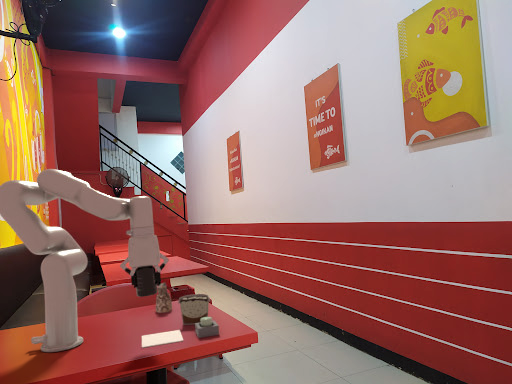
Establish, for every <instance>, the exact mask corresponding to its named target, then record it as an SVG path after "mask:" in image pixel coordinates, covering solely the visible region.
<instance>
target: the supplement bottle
mask: <svg viewBox="0 0 512 384" xmlns="http://www.w3.org/2000/svg"><path fill="white" fill-rule="evenodd" d="M134 273H135V277H136V288H135V290H136V291H135V292H136V296H137V297H138V298H139V297H140V298H141V297H143V298H144V297H150V296H154V295H157V293H158V284H157V280H156V268H155V266H154V265H153V266H146V267H138V268H136V270H135V272H134Z"/></svg>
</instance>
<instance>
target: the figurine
mask: <svg viewBox="0 0 512 384" xmlns="http://www.w3.org/2000/svg"><path fill="white" fill-rule="evenodd" d="M166 283H167V282H165V281H164V282H163V283H159V284H158V285H157V293H158V294H156V299H155V313H160V314H161V313H162V314H163V313H168V312H170V311H172V309H173V303H172V297H171V295H170V293H169V292H168V289H167V288H168V286H167V284H166Z"/></svg>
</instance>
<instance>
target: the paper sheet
mask: <svg viewBox="0 0 512 384" xmlns="http://www.w3.org/2000/svg"><path fill="white" fill-rule="evenodd" d="M180 342H184V338H183V335H182V333H181V330H180V329H176V330H171V331H164V332H157V333H151V334H144V335H141V349H143V348H149V347H157V346H162V345H169V344H174V343H175V344H176V343H180Z"/></svg>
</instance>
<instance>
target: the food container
mask: <svg viewBox="0 0 512 384" xmlns="http://www.w3.org/2000/svg"><path fill="white" fill-rule="evenodd" d="M210 302H211V299H210V295H208V294H204V293H195V294H193V293H192V294H187V295H183V296H180V297H179V298H178V303H177V304H179V305H180V313H181V320H182V325H187V326H188V325H195V323H200V322H201V321H200V319H201V318H203V317H209V303H210Z"/></svg>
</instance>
